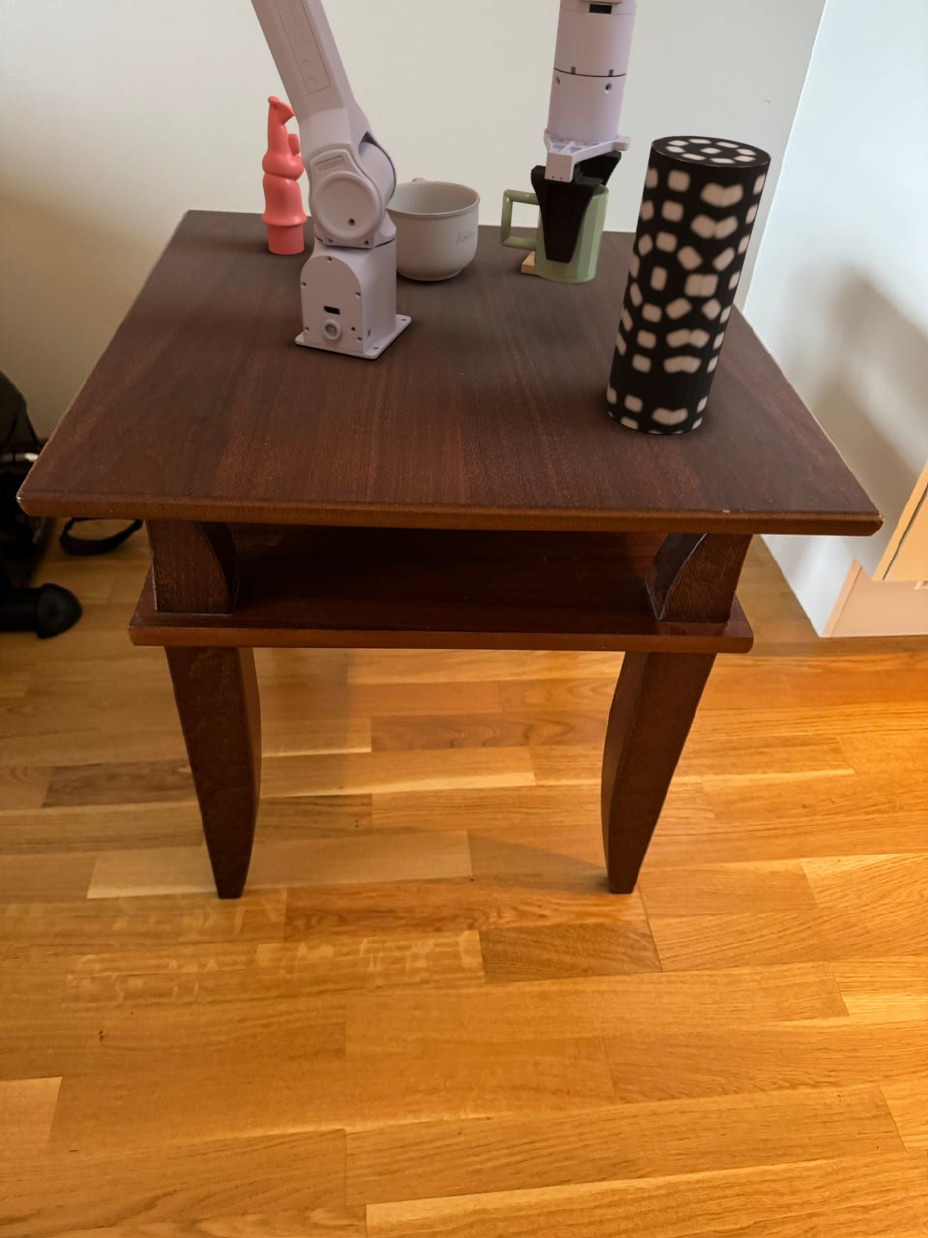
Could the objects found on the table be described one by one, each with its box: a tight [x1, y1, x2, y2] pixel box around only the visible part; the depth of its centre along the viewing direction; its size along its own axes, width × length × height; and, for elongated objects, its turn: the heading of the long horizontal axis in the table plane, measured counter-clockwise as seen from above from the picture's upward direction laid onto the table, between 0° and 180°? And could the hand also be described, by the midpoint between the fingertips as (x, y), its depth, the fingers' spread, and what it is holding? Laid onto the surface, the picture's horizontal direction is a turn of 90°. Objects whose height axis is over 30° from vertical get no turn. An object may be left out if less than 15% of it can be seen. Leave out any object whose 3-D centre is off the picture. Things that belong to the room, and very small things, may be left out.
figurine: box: [261, 95, 308, 256], centre depth 93 cm, size 5×5×15 cm
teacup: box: [386, 177, 481, 282], centre depth 94 cm, size 14×11×8 cm
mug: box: [499, 184, 610, 284], centre depth 76 cm, size 9×6×7 cm, turn 71°
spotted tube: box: [604, 135, 772, 435], centre depth 67 cm, size 8×8×20 cm
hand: (566, 249), depth 77 cm, fingers closed on mug, 5 cm apart
